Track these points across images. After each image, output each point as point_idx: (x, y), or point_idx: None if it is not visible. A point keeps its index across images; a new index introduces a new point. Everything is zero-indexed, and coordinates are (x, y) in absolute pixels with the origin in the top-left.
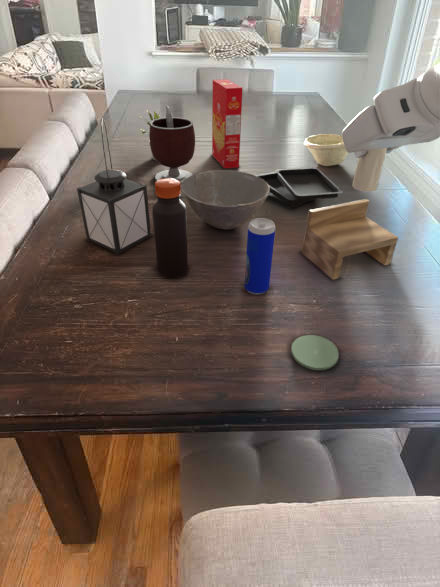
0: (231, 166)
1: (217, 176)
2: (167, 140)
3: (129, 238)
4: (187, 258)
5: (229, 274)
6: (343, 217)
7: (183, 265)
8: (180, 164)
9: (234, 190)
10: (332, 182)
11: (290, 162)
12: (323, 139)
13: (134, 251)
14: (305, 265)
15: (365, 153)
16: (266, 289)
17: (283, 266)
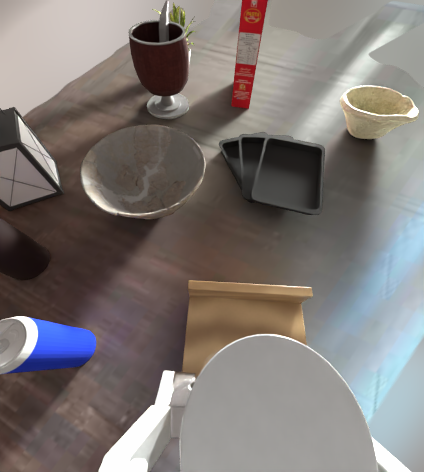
0: (239, 105)
1: (165, 135)
2: (140, 59)
3: (22, 196)
4: (29, 266)
5: (77, 301)
6: (255, 298)
7: (20, 274)
8: (163, 94)
9: (181, 160)
10: (322, 186)
11: (314, 117)
12: (375, 95)
13: (27, 212)
14: (176, 328)
15: (175, 436)
16: (77, 366)
17: (148, 316)
